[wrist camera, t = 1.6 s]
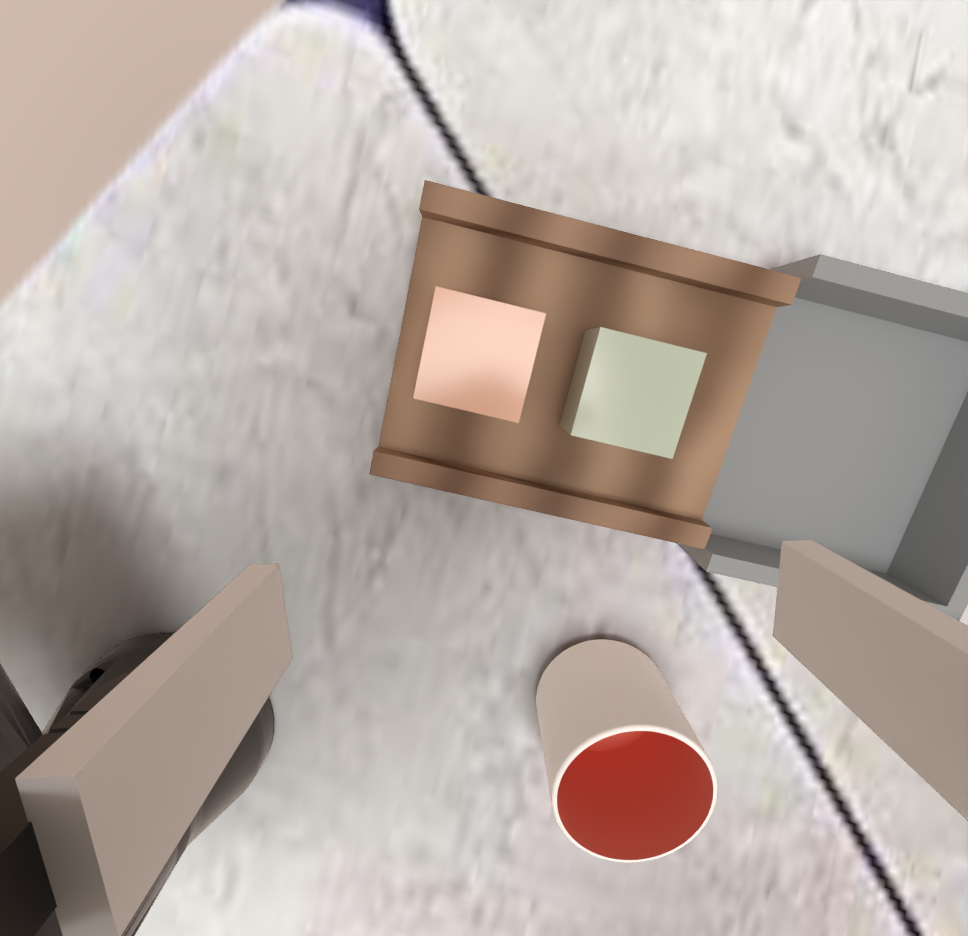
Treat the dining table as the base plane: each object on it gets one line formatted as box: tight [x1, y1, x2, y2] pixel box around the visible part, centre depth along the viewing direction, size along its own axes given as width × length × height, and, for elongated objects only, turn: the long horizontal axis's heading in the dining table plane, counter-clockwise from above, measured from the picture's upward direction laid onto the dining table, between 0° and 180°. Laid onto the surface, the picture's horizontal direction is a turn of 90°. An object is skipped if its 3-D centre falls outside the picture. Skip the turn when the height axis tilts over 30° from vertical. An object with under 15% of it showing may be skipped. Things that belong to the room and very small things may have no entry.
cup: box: [536, 639, 717, 862], centre depth 34 cm, size 10×10×10 cm
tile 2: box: [413, 286, 546, 423], centre depth 29 cm, size 6×6×4 cm
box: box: [677, 254, 968, 621], centre depth 32 cm, size 17×19×6 cm
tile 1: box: [560, 327, 707, 459], centre depth 29 cm, size 6×6×4 cm
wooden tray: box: [370, 180, 801, 549], centre depth 32 cm, size 22×17×4 cm
